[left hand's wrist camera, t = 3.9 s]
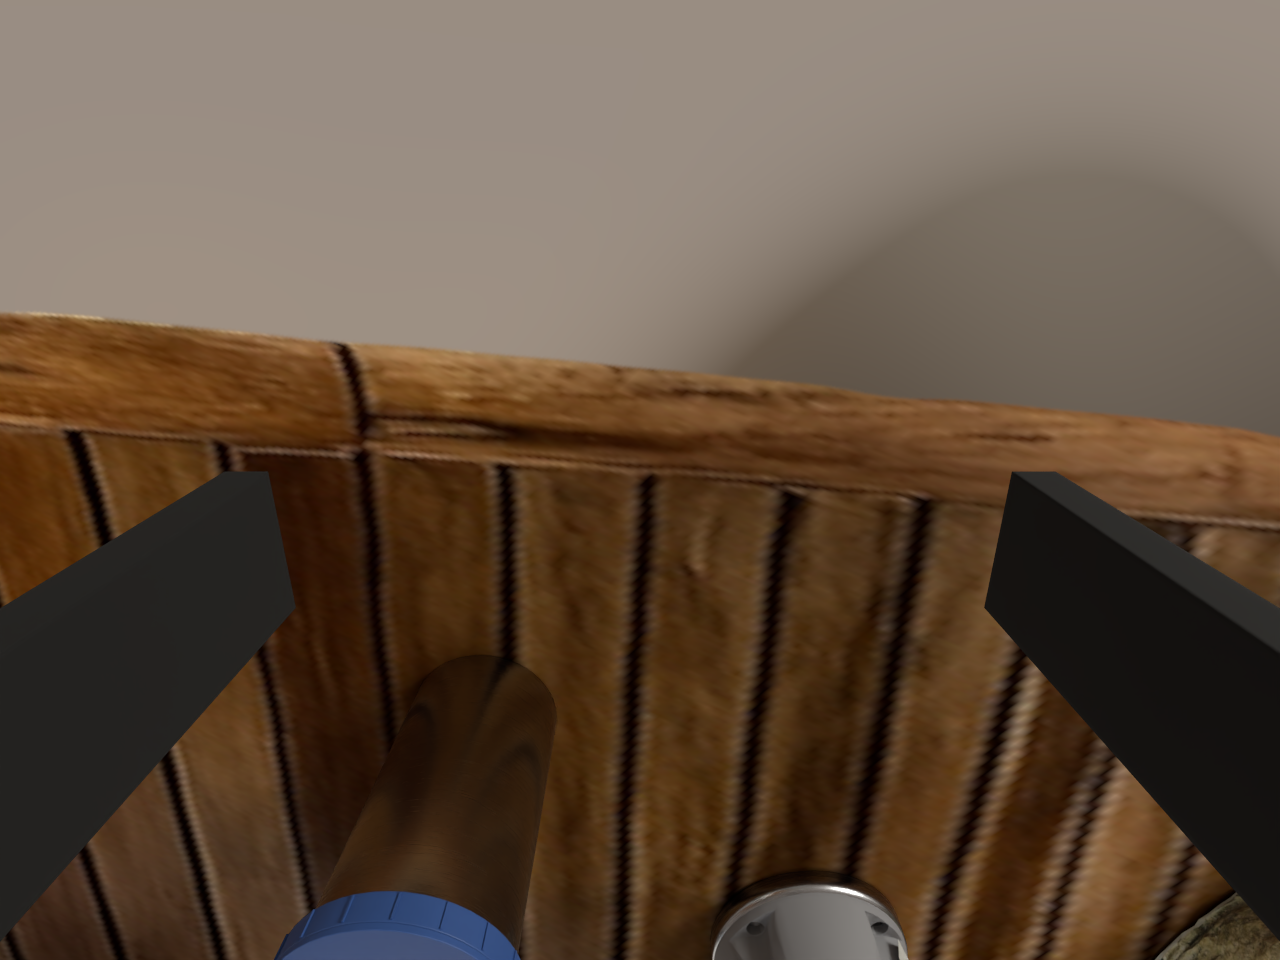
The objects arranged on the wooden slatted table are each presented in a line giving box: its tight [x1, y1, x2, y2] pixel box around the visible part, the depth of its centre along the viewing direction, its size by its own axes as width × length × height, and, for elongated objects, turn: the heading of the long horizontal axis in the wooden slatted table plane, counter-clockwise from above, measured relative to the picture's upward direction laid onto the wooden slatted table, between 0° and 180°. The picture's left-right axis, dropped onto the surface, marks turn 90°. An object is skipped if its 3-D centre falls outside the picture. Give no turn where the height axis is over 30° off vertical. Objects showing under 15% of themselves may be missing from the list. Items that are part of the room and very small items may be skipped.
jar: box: [316, 655, 557, 954], centre depth 39 cm, size 10×10×19 cm
